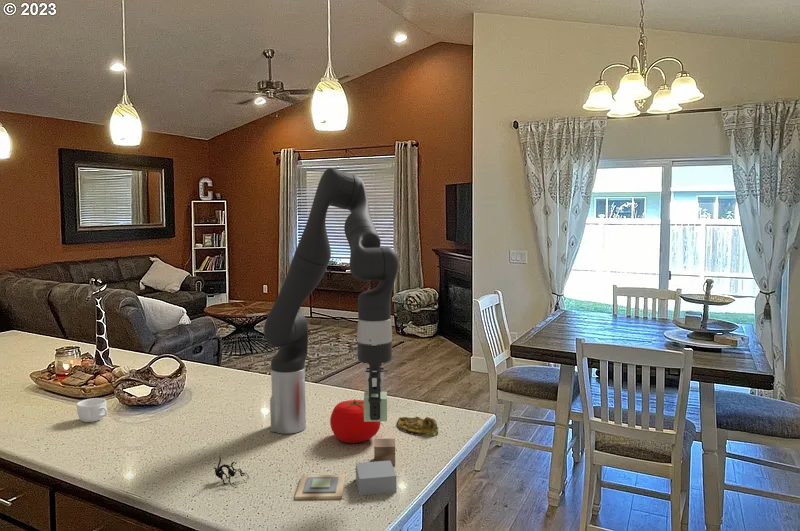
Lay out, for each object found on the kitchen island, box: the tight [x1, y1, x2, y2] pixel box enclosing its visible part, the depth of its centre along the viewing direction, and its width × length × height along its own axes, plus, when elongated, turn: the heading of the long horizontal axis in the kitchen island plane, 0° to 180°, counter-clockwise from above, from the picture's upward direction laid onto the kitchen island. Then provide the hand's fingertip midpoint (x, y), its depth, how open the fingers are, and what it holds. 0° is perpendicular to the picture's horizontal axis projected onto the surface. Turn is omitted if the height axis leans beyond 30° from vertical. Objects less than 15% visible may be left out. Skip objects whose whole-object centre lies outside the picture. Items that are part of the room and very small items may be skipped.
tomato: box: [329, 398, 382, 444], centre depth 157 cm, size 14×13×10 cm
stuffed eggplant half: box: [396, 416, 440, 436], centre depth 165 cm, size 9×5×15 cm
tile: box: [294, 474, 346, 500], centre depth 129 cm, size 10×10×1 cm
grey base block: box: [355, 460, 397, 496], centre depth 131 cm, size 8×8×4 cm
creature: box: [213, 455, 250, 489], centre depth 133 cm, size 8×5×8 cm
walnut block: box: [373, 438, 396, 467], centre depth 142 cm, size 5×5×5 cm
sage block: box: [363, 391, 388, 422], centre depth 129 cm, size 5×5×5 cm
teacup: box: [76, 397, 108, 423], centre depth 172 cm, size 10×8×5 cm
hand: (375, 414), depth 129 cm, fingers closed on sage block, 5 cm apart
